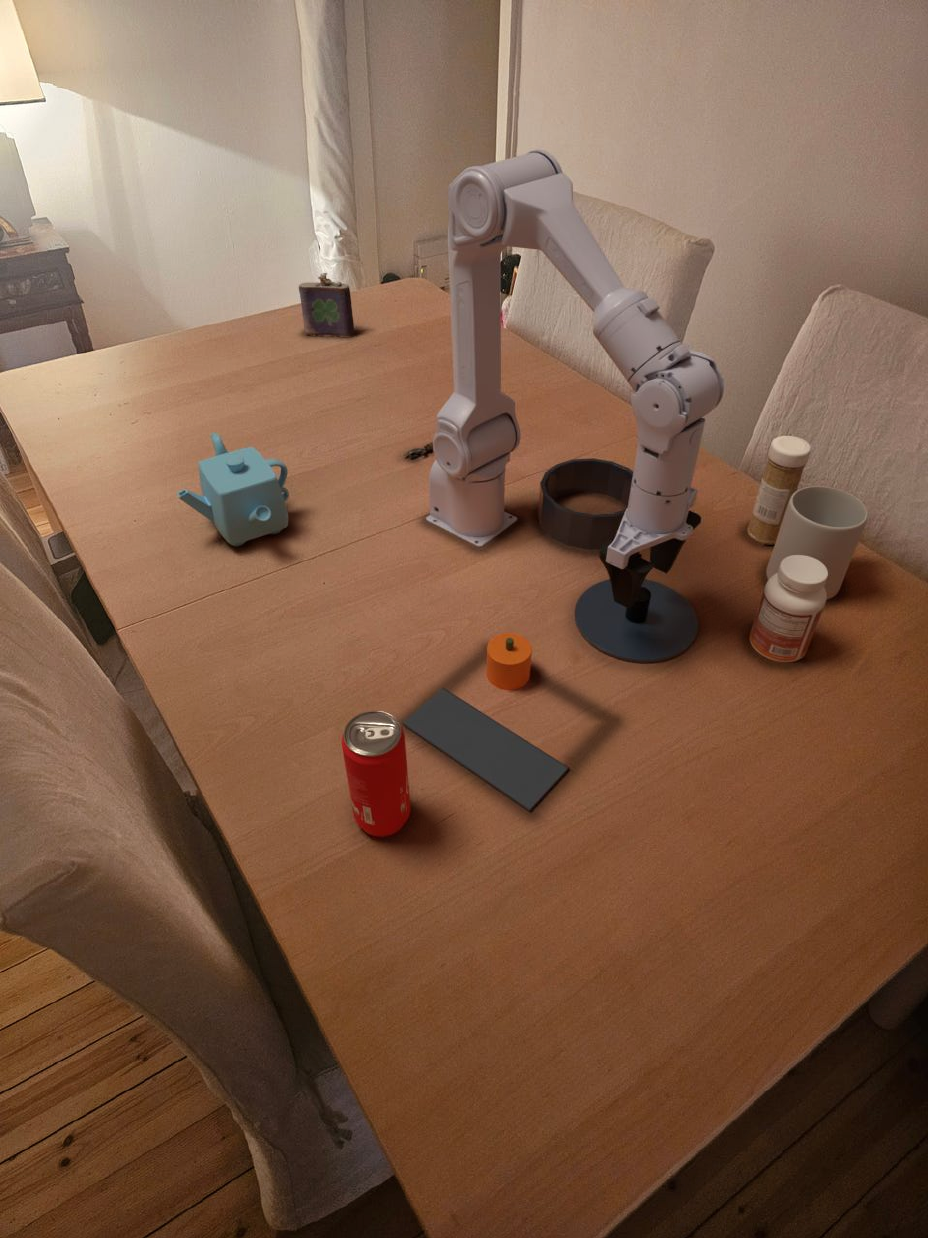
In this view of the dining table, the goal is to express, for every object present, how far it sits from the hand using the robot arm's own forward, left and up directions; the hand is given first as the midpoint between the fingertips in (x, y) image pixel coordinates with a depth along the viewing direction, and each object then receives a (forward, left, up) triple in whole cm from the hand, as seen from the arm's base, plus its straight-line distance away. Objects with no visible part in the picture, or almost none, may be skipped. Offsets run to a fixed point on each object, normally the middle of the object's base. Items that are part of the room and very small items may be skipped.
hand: (642, 585), depth 90 cm
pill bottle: (+14, +7, -6) cm, 17 cm away
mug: (+12, +21, -6) cm, 25 cm away
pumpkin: (-6, -16, -5) cm, 18 cm away
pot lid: (0, 0, -5) cm, 5 cm away
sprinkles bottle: (+4, +25, -6) cm, 26 cm away
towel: (-2, -21, -6) cm, 22 cm away
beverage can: (-4, -37, -6) cm, 38 cm away
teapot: (-49, -17, -6) cm, 52 cm away
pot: (-15, +13, -6) cm, 21 cm away
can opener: (-43, +13, -6) cm, 45 cm away
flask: (-84, +31, -6) cm, 90 cm away
